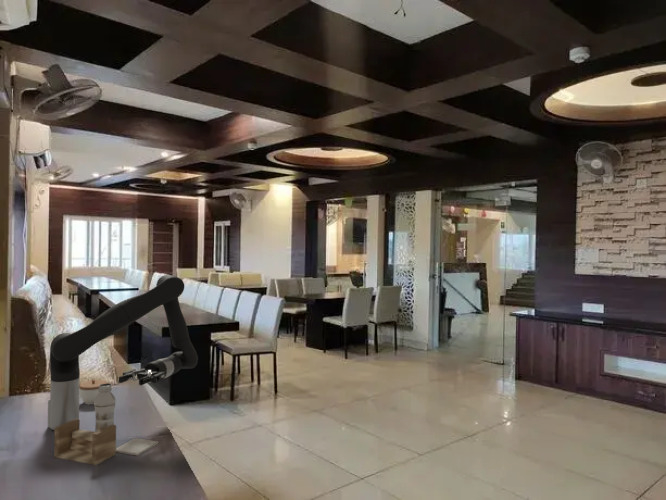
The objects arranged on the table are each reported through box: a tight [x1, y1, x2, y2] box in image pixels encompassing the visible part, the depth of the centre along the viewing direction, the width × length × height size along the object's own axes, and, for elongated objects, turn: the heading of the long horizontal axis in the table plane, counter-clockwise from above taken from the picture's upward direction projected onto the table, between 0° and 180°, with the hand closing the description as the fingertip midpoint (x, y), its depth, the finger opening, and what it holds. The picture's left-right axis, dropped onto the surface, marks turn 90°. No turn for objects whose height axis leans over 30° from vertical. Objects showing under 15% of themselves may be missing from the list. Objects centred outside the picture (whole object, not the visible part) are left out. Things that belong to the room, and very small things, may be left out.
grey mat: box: [116, 437, 159, 456], centre depth 159 cm, size 9×10×1 cm
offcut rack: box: [53, 418, 117, 466], centre depth 152 cm, size 16×8×9 cm, turn 73°
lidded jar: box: [79, 379, 109, 406], centre depth 203 cm, size 11×11×9 cm
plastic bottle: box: [93, 383, 117, 432], centre depth 159 cm, size 6×7×20 cm
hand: (129, 381), depth 170 cm, fingers open, 8 cm apart
